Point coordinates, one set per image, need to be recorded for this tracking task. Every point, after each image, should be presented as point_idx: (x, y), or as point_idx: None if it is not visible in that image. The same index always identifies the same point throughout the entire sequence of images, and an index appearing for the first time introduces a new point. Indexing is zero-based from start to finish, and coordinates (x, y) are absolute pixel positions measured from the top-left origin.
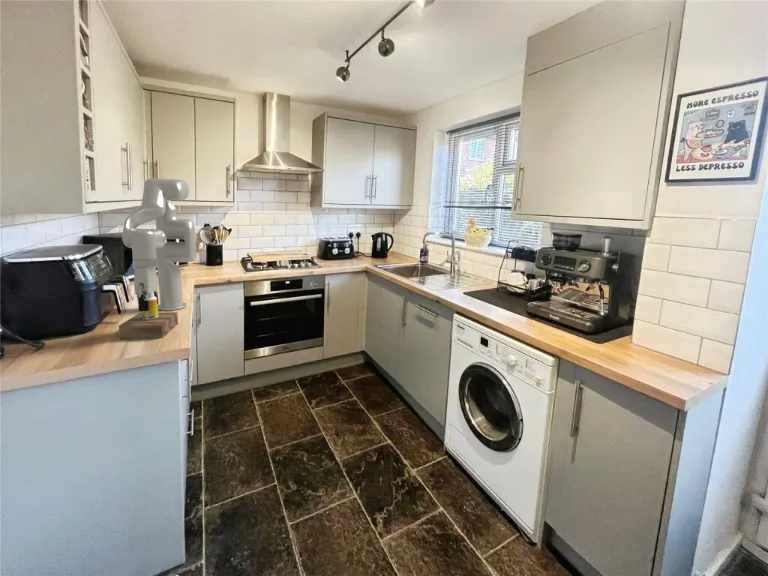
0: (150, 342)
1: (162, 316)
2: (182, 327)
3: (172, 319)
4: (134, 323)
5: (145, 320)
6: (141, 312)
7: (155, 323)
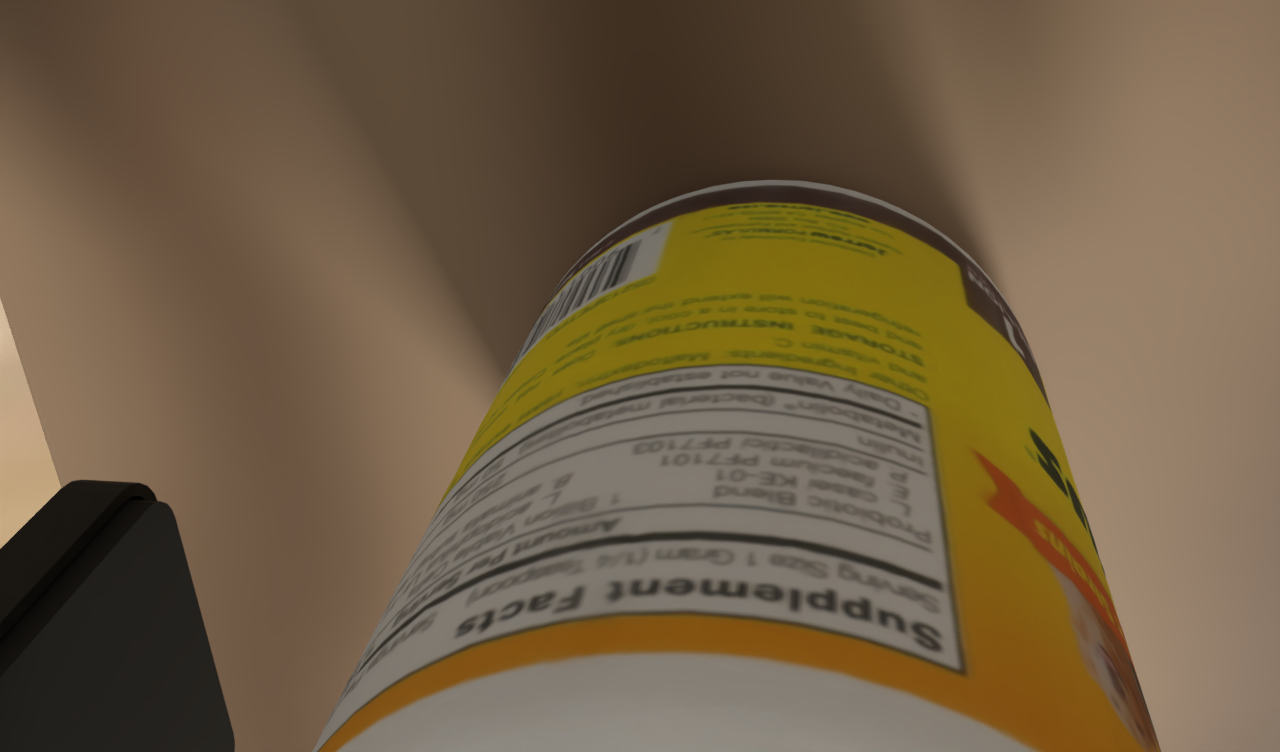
0: (12, 447)
1: None
2: None
3: None
4: (166, 135)
5: (524, 337)
6: (562, 332)
7: (236, 646)
